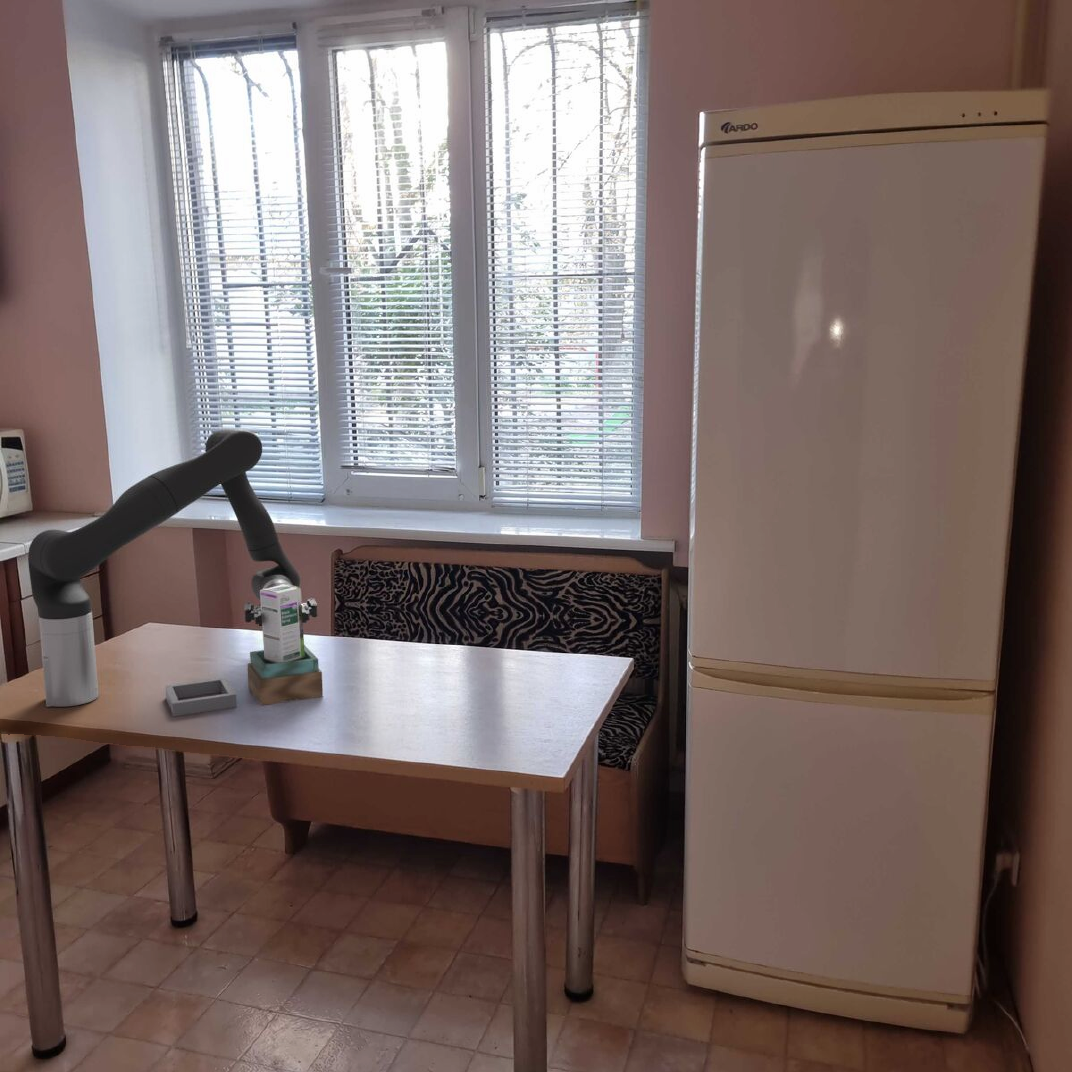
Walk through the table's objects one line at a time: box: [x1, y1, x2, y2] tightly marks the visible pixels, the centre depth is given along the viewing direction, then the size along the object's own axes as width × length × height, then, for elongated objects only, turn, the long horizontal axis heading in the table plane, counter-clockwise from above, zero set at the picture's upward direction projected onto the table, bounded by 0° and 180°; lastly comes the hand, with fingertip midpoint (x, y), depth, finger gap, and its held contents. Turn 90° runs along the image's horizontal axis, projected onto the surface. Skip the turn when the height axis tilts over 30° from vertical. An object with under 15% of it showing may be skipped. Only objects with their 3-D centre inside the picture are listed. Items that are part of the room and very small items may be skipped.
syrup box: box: [260, 584, 305, 663], centre depth 190 cm, size 6×6×14 cm
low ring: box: [164, 677, 238, 717], centre depth 186 cm, size 11×11×2 cm
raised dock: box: [247, 644, 324, 706], centre depth 192 cm, size 12×12×8 cm
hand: (282, 619), depth 188 cm, fingers closed on syrup box, 8 cm apart
